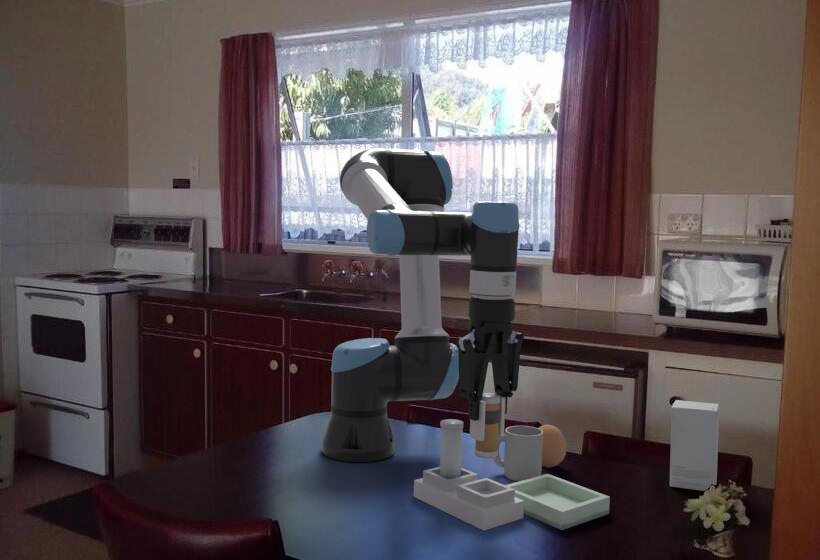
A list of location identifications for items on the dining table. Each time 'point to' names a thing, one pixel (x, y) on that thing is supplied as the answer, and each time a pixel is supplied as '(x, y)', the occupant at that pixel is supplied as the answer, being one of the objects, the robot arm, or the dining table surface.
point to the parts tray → (560, 501)
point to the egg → (552, 446)
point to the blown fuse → (489, 428)
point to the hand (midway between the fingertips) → (486, 436)
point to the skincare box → (694, 445)
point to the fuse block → (465, 487)
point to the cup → (521, 452)
